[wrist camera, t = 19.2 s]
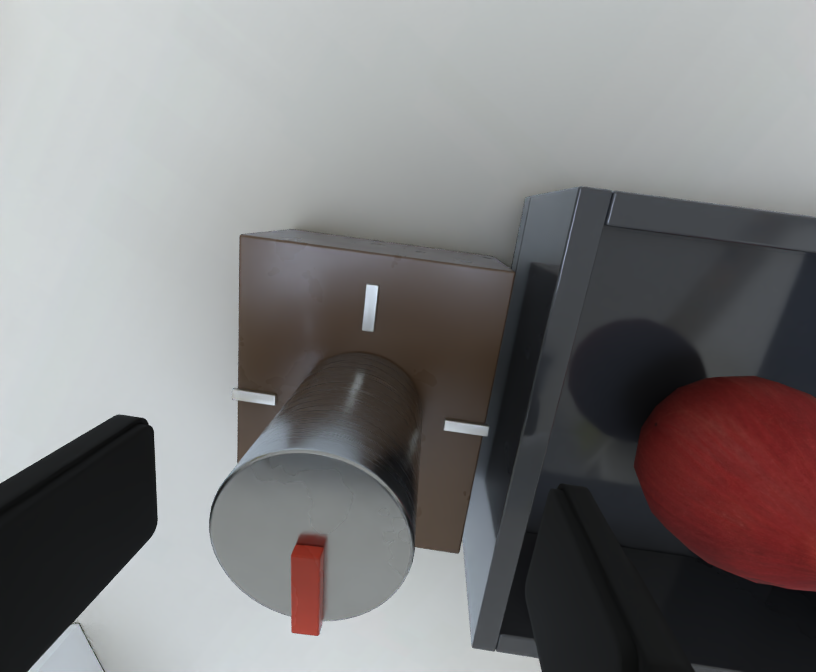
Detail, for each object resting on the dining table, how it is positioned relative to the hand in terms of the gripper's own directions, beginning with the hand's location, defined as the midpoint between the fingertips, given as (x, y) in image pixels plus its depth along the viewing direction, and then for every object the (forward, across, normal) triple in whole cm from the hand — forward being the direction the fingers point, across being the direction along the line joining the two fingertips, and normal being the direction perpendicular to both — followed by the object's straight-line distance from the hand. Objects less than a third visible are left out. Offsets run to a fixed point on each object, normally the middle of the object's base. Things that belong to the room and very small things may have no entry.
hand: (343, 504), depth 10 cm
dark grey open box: (+8, -12, -1) cm, 14 cm away
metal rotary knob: (+4, 0, -1) cm, 4 cm away
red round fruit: (+8, -12, 0) cm, 14 cm away
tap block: (+8, 0, -1) cm, 8 cm away
